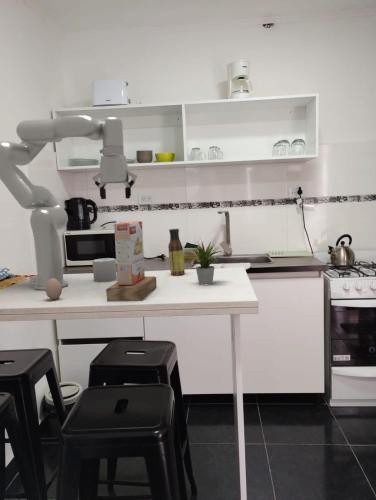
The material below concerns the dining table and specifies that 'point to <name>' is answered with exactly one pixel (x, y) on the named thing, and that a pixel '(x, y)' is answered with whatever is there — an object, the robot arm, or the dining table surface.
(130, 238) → the cracker box
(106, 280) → the grey mug
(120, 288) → the riser
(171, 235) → the sauce bottle
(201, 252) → the house plant
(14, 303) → the dining table surface
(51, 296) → the egg
